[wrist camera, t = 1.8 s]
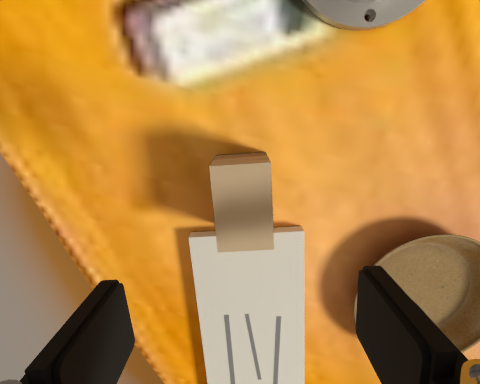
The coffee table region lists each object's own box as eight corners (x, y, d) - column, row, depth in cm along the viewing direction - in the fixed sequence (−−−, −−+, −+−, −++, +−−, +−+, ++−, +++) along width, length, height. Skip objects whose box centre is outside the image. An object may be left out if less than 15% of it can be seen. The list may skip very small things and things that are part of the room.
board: (190, 232, 27) (188, 237, 26) (301, 226, 27) (304, 231, 26) (211, 397, 33) (210, 407, 32) (302, 394, 33) (304, 404, 32)
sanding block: (216, 155, 25) (208, 166, 20) (265, 151, 25) (270, 162, 20) (222, 225, 27) (217, 252, 22) (268, 222, 27) (273, 249, 22)
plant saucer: (465, 198, 26) (489, 207, 24) (501, 313, 30) (525, 331, 27) (323, 261, 28) (331, 275, 26) (372, 361, 32) (383, 382, 29)
